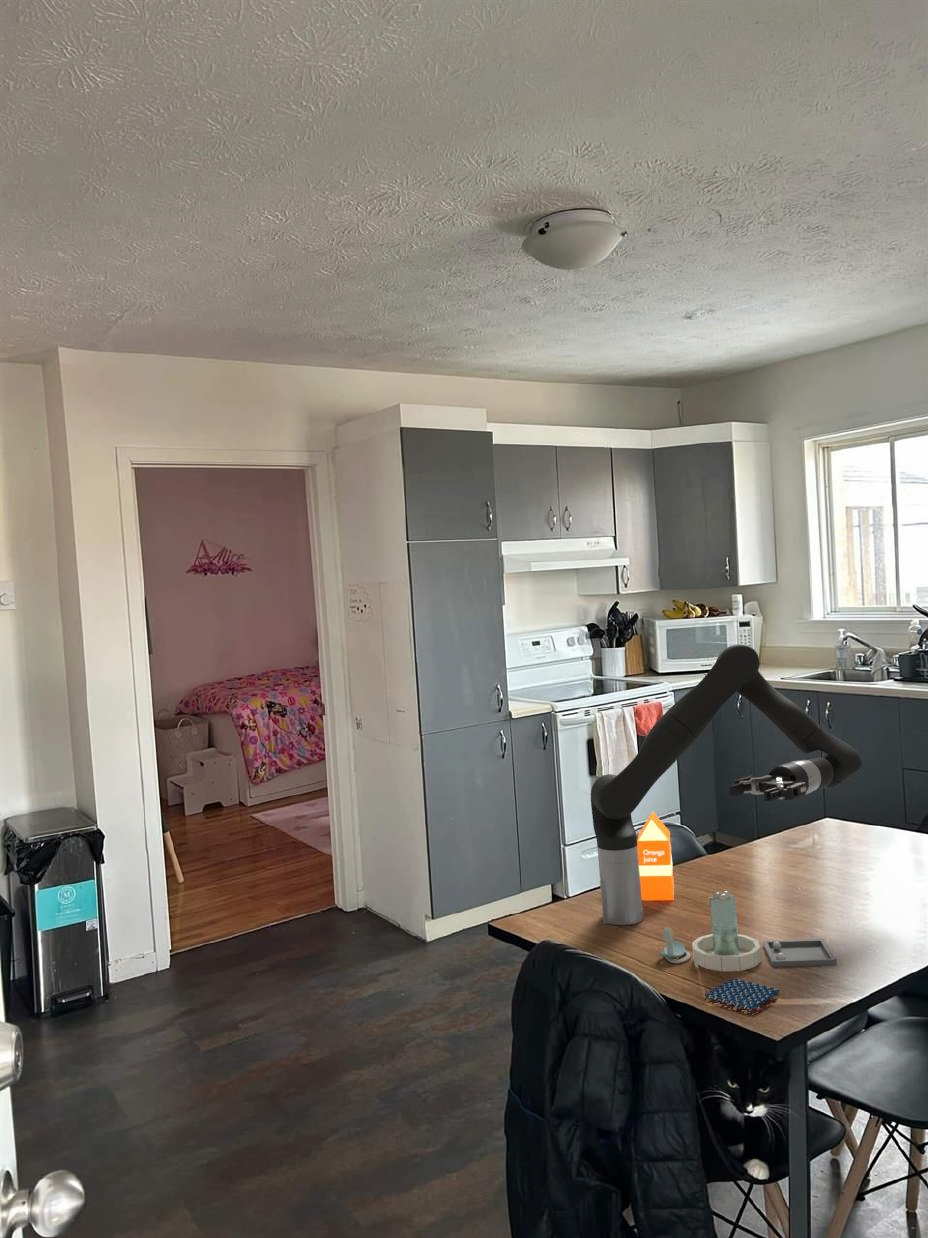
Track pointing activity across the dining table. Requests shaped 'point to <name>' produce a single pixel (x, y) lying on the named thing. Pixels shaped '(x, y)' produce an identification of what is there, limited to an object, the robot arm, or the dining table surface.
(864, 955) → the dining table surface
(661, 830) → the orange juice
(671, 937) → the pacifier
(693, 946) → the bowl
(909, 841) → the dining table surface
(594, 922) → the dining table surface
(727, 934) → the teal cylinder
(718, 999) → the woven mat
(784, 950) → the parts tray
